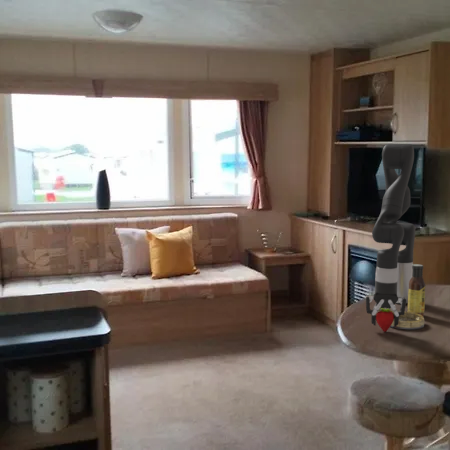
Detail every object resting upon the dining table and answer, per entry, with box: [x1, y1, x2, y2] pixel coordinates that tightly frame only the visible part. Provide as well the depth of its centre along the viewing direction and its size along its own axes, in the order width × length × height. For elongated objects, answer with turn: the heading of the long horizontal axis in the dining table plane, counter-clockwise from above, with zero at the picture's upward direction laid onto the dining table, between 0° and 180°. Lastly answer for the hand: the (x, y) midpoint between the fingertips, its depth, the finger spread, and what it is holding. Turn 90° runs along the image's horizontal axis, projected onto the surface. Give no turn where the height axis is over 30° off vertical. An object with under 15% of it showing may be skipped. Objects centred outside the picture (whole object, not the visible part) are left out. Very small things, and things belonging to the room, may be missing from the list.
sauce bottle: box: [407, 263, 426, 317], centre depth 227 cm, size 7×6×20 cm
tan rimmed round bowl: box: [390, 310, 425, 331], centre depth 217 cm, size 15×15×3 cm
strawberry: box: [376, 308, 394, 333], centre depth 207 cm, size 6×8×10 cm
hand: (384, 325), depth 208 cm, fingers closed on strawberry, 6 cm apart
